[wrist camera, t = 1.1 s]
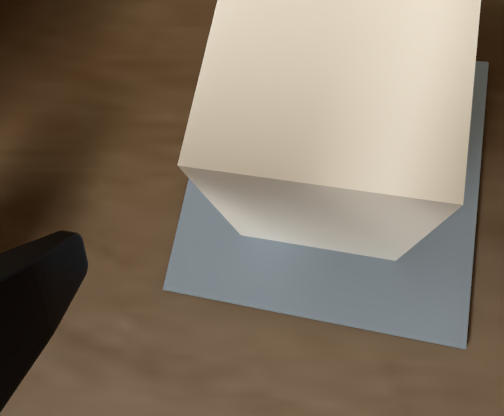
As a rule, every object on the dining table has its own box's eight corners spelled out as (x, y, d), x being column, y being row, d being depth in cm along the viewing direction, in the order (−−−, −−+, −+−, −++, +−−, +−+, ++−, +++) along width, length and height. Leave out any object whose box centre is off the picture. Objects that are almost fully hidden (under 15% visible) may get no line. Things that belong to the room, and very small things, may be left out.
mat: (463, 348, 19) (466, 349, 19) (165, 290, 22) (162, 289, 22) (485, 66, 22) (488, 62, 22) (222, 45, 25) (221, 41, 25)
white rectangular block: (395, 260, 20) (463, 205, 11) (240, 235, 22) (177, 165, 12) (413, 114, 22) (484, -48, 12) (268, 99, 23) (231, -56, 14)
